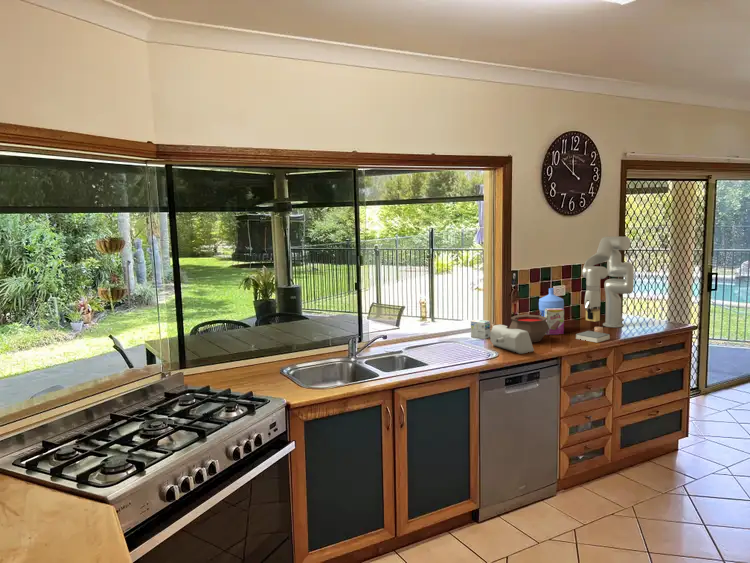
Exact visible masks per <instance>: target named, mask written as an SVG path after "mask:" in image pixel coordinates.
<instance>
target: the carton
mask: <svg viewBox="0 0 750 563" xmlns="http://www.w3.org/2000/svg"><path fill="white" fill-rule="evenodd" d="M589 309H590V310H591V308H589ZM592 313H593V319H588V312H587V310H586V309H585V321H589V322H595V323H596V322H600V321H601V320H600V319H601V309H600V308H599V309H596V308H593V310H592Z"/></svg>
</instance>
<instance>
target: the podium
mask: <svg viewBox="0 0 750 563" xmlns="http://www.w3.org/2000/svg"><path fill="white" fill-rule="evenodd" d="M575 339H576V340H580V339H581V340H580V341H585V340H586V341H587V342H591V343H592V342H593V343H600V342H604V341H607V340H610V339H611V338H610V333H605V332H603V333H600V332H594V330H586V331H582V332H579V333H576V334H575Z"/></svg>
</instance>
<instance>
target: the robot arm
mask: <svg viewBox="0 0 750 563" xmlns="http://www.w3.org/2000/svg"><path fill="white" fill-rule="evenodd" d="M630 247H631V239H630V237H628V236H604V237H602V238H601V239H600V241H599V244H598V247H597V250H596V253H594V254H592V255H591V256H590V257H588V258H587V259H586V260H585V262H584V265H583V267H582V270H581V275H582V276H583V278H585V279H586V281H585V284H586V286H585V287H586V288H585V289H586V290H585V294H584V308H585V311H586V310H587V312H588V319H593V313H592V310H593V308H596V309H600V307H601V280H603V279H605V278H607V277H608V276H609V277H615V278H609V279H606V280H605V281H604V284H603V285H604V293H605V294H604V295H605V319H604V320H605V322H603V323H602V327H606V328H623V327H624V326H625V325H624V324H623V323H622V322H624V320H625V319H624V318H623V317H622V298H621V297H620V295H619V294H622V295H623V294H624V295H625V294H626V295H627V294H629V295H631V294H632V293H633V292H634V278H635V277H634V275H635V274H634V273H635V270H634V265H633V264H632V263H631V262H622V254H621V251H626V250H629V248H630ZM604 262H606V267H605V266H599V264H601V263H602V264H603V263H604ZM595 265H598V266H595ZM589 308H591V310H590V309H589Z"/></svg>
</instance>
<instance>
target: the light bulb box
mask: <svg viewBox="0 0 750 563" xmlns="http://www.w3.org/2000/svg"><path fill="white" fill-rule="evenodd" d="M490 332H491V321H490V320H482V319H473V320H470V337H471V338H473V339H480V340H486V339H489V338H490Z"/></svg>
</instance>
